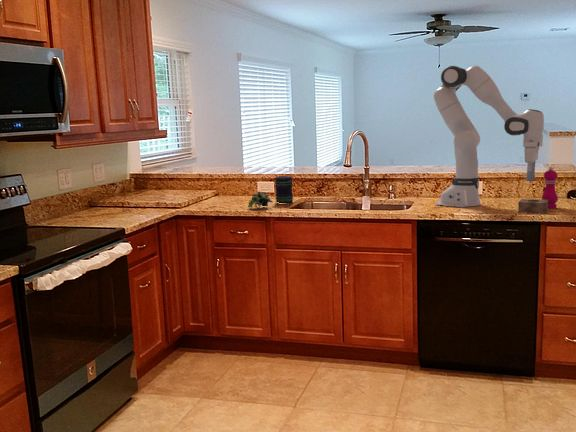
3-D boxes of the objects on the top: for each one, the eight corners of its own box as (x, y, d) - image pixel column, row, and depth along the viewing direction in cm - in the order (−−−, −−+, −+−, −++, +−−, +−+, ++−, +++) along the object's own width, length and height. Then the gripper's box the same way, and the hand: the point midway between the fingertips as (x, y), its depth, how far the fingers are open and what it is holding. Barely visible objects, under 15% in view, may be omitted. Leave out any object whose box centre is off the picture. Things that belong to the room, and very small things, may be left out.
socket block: (518, 212, 286) (518, 201, 285) (521, 209, 294) (521, 198, 293) (545, 213, 280) (545, 202, 279) (547, 210, 288) (548, 199, 288)
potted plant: (263, 217, 333) (275, 199, 332) (259, 216, 322) (271, 198, 321) (247, 205, 335) (259, 187, 334) (242, 205, 324) (254, 186, 323)
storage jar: (282, 201, 351) (281, 176, 349) (296, 202, 346) (295, 176, 343) (272, 204, 344) (271, 178, 341) (286, 204, 338) (285, 178, 335)
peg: (525, 181, 300) (527, 161, 298) (526, 180, 303) (528, 160, 301) (533, 181, 298) (534, 161, 296) (534, 180, 301) (535, 160, 299)
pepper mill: (559, 208, 290) (560, 167, 287) (543, 209, 292) (544, 167, 288) (555, 206, 297) (557, 166, 294) (540, 206, 299) (541, 166, 295)
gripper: (528, 141, 307) (526, 168, 310) (522, 143, 290) (520, 172, 292) (542, 141, 304) (540, 168, 307) (536, 144, 287) (534, 172, 289)
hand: (530, 170), depth 299 cm, fingers closed on peg, 4 cm apart
